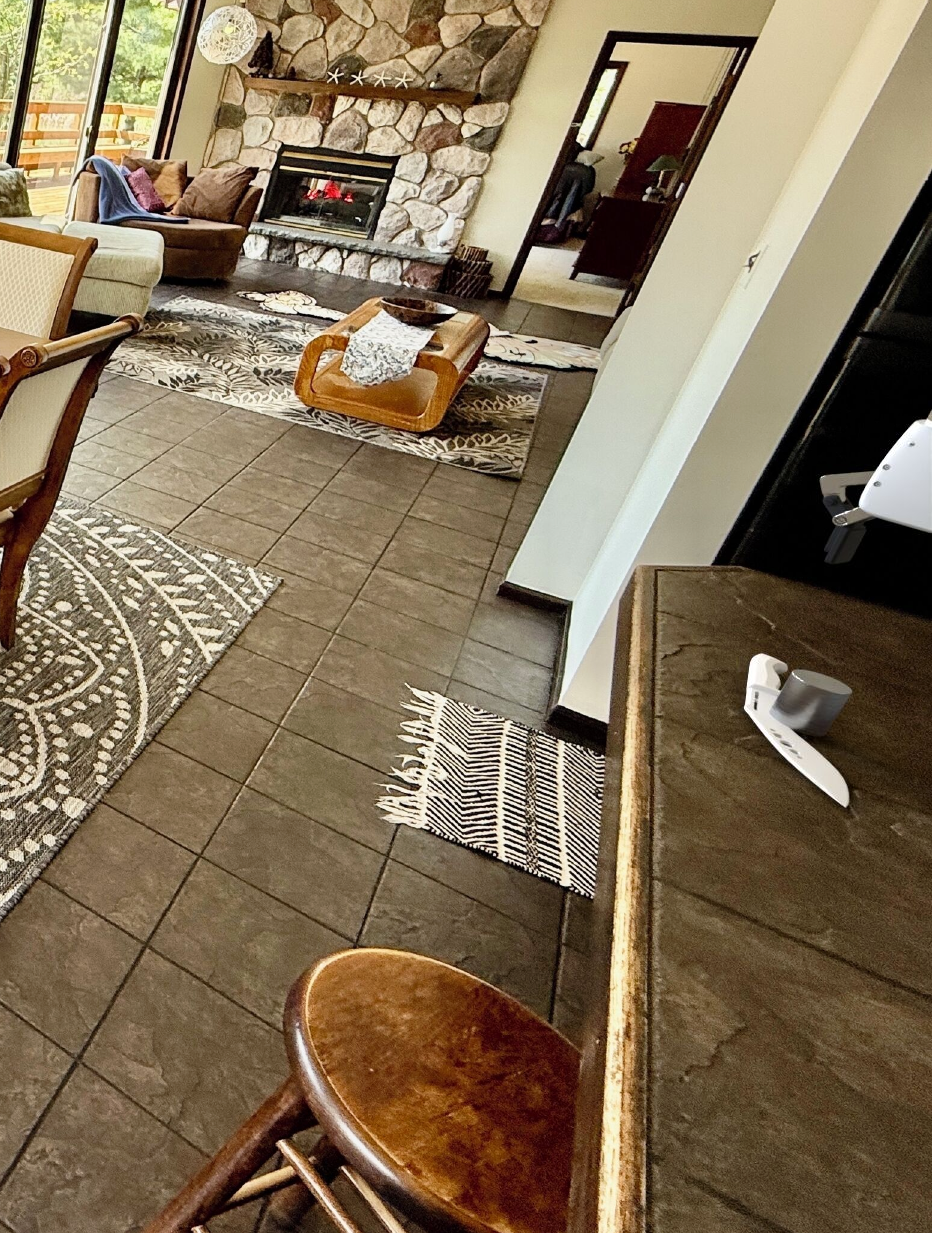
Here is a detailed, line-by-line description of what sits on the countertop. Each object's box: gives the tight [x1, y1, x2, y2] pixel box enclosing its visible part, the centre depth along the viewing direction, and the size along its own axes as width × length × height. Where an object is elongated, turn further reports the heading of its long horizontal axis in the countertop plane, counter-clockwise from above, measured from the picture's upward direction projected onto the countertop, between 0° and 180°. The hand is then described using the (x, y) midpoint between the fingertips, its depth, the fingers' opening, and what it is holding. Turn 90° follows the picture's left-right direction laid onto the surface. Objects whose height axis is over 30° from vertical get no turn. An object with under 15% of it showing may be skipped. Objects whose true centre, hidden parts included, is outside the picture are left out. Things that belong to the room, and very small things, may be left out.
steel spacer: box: [769, 669, 853, 737], centre depth 96 cm, size 4×4×6 cm
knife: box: [743, 653, 850, 808], centre depth 97 cm, size 30×2×8 cm
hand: (901, 583), depth 89 cm, fingers open, 9 cm apart
